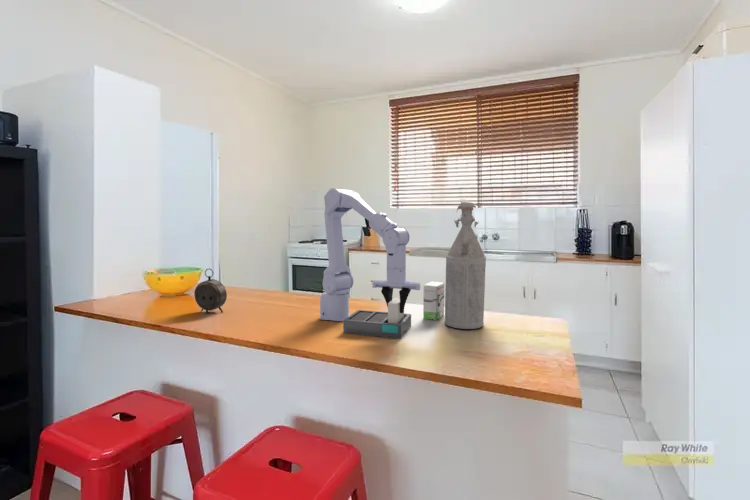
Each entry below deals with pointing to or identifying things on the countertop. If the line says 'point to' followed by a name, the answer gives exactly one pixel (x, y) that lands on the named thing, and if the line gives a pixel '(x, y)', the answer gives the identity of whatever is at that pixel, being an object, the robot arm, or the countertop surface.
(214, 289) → the alarm clock
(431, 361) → the countertop surface
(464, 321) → the grey bottle
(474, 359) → the countertop surface
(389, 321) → the block
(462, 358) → the countertop surface
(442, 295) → the ink box
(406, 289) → the robot arm
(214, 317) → the countertop surface
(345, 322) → the rack
